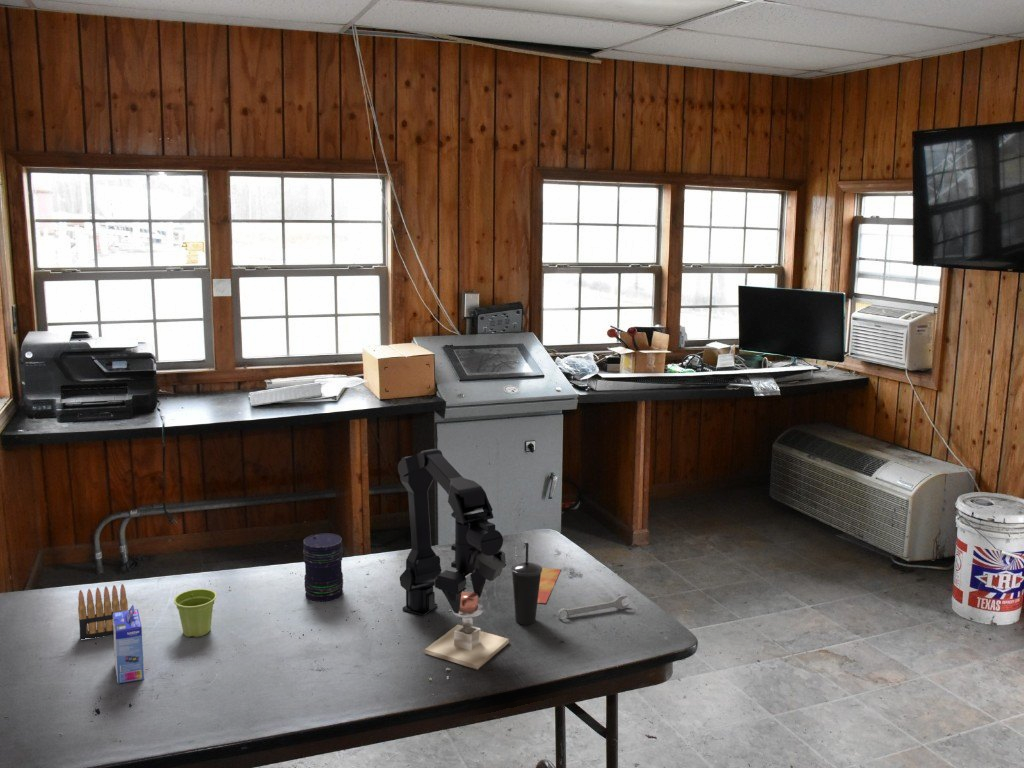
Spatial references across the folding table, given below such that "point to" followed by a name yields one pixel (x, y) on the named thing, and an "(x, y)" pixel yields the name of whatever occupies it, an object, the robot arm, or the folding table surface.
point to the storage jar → (323, 567)
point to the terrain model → (547, 583)
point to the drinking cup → (526, 589)
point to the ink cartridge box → (128, 646)
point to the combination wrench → (595, 607)
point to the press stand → (467, 646)
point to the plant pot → (195, 611)
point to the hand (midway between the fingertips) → (467, 605)
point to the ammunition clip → (100, 612)
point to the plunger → (469, 608)
